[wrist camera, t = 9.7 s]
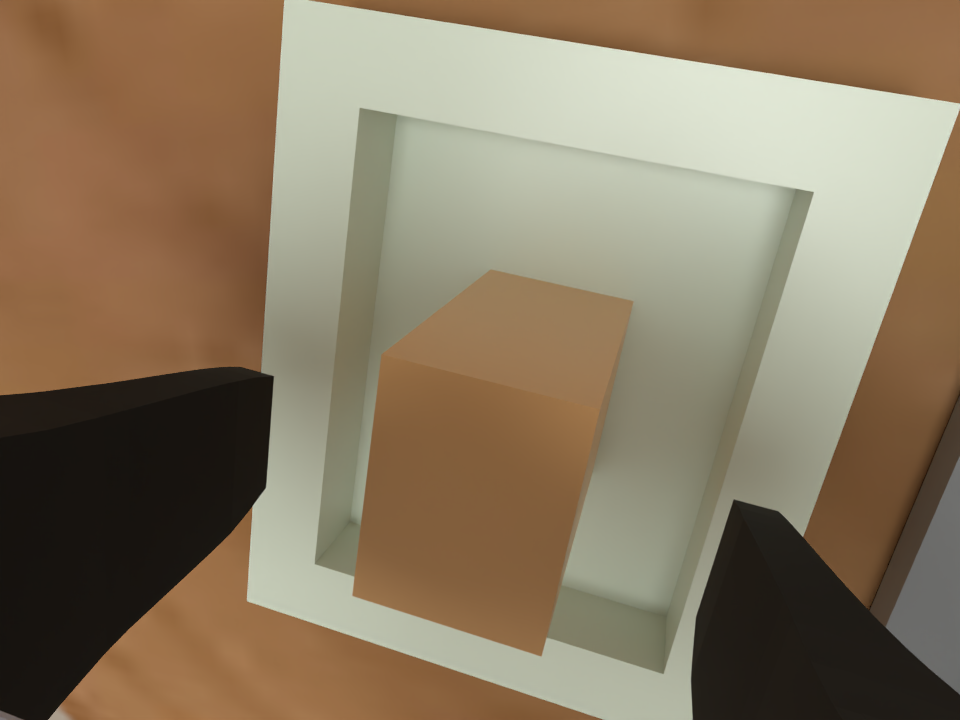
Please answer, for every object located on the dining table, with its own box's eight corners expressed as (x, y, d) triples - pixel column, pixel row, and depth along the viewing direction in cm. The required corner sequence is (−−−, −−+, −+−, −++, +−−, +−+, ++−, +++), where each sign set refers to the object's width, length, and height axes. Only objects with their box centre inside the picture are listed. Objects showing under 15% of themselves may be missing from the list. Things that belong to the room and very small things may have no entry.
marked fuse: (591, 475, 16) (541, 656, 11) (461, 440, 17) (352, 595, 12) (633, 300, 15) (599, 409, 10) (490, 269, 16) (381, 354, 10)
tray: (718, 675, 18) (721, 758, 16) (298, 545, 20) (246, 601, 18) (915, 105, 13) (961, 103, 11) (345, 13, 15) (284, -4, 13)
